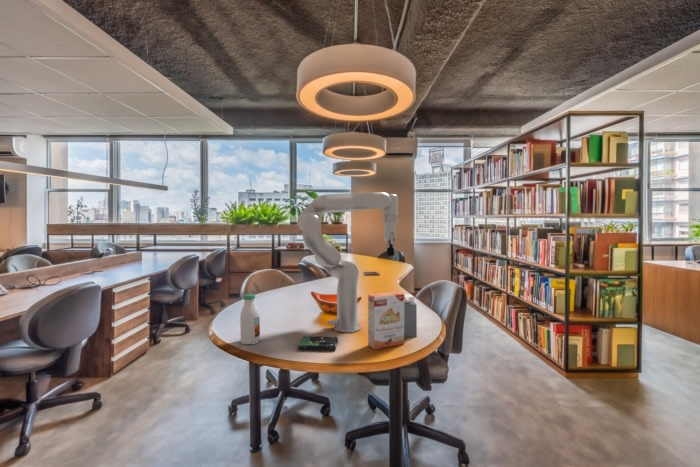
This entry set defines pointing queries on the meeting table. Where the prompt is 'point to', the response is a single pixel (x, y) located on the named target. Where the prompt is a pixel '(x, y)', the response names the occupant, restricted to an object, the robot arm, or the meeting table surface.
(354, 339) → the meeting table surface
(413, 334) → the block
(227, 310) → the meeting table surface
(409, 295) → the pump head
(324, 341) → the disk drive
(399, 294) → the cracker box
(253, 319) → the milk bottle
